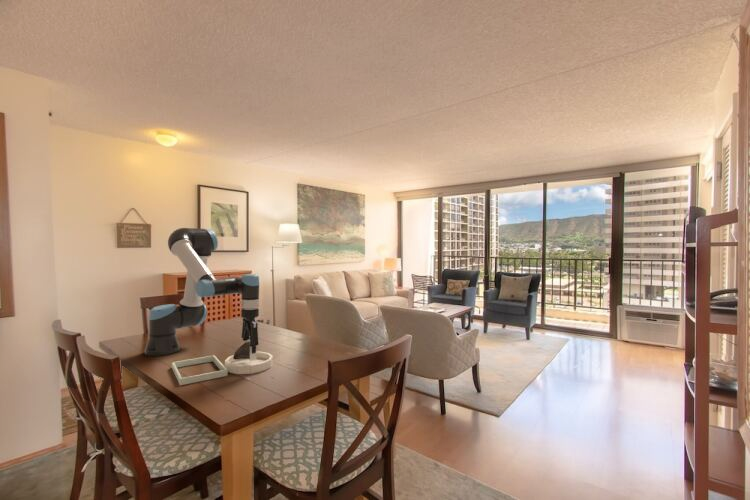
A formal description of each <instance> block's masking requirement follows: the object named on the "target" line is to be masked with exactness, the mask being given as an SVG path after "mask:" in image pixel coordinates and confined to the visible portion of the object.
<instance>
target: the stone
mask: <svg viewBox="0 0 750 500" xmlns="http://www.w3.org/2000/svg"><path fill="white" fill-rule="evenodd" d="M249 345H251V344H250V341H249V342H246V343H244V344H243V343H242V345H240V347H238V348H237V349H236V350H235V352H234V354H233V355H234V356H233V359H250V347H249Z"/></svg>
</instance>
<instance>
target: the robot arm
mask: <svg viewBox="0 0 750 500" xmlns="http://www.w3.org/2000/svg"><path fill="white" fill-rule="evenodd" d="M167 239H168V240H167V246H168V249H169V251H170V252H171V253H172V255H174V256H175V257H177V258H178V259H179V261H180V262H181V263H182V265H183V267H185V269H186V278H185V286H184V291H183V292H184V293H183V298H182V299H181V300H180V301H179V305H176V304H174V303H170V304H169V303H168V304H162V305H161V304H160V305H157V306H154V307H152V308H151V309H150V310H149V317H148V323H149V324H148V333H149V334H148V340H147V343H146V345H145V348H144V355H146V356H149V357H150V356H151V357H160V356H161V357H162V356H166V355H171V354H174V353H177V352H179V351H180V343H179V340H178V337H177V329H183V328H188V327H189V328H190V327H195V326H197V325H198V326H199V325H202V324H203V323H204V322H205V321H206V319H207V316H208V309H207V306H206V304H205V303H204V301H203V300H202V298H210V297H216V296H217V297H218V296H219V297H220V296H225V295H234V294H237V295H238V294H239V295H241V301H240V304H241V310H240V312H241V313H240V315H241V318H242V329H241V339H242V345H243V344H244V343H246V342H250V344H251V345H249V347H250V361H253V360H256V352H257V347H258V346H259V331H258V329H259V328H258V325H259V323H258V322H256V318H258V317H259V316H260V315H259V314H260V309H259V307H260V276H259V275H258V274H256V273H255V274H253V273H247V274H246V273H245V274H243V275H241V277H238V276H230V277H227V278H226V277H225V278H224V277H223V278H216V277H215V275H214V274H213V273H212V272H211V270H210V268H209V267H208V266H207V265H208V259H209V258H210V257H211V256H212V252H214V251H216V250H217V248H218V243H219V242H218V236H217V235H216V232H214V230H212V229H207V228H193V227H192V228H190V227H180V228H178V229H175V230H173V232H172V233H170V235H169V237H168V238H167Z"/></svg>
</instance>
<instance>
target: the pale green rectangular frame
mask: <svg viewBox="0 0 750 500" xmlns="http://www.w3.org/2000/svg"><path fill="white" fill-rule="evenodd" d="M210 362H213V363H214V365H215V366H216V367H217V368H218V369H219V370H215V371H211V372H205V373H202V374H196V375H195V374H194V375H191V376H189V375H188V376H184V377H182V375H181V373H180V371H179V369H178V368H183V367H187V366H188V367H189V366H193V365H199V364H205V363H210ZM171 369H172V372H173V373H174V376H175V378H176V380H177V382H178V384H179V386H183V385H189V384H194V383H198V382H199V383H200V382H203V381H208V380H213V379H217V378H223V377H228V373H229V372H228V370H227V369H226V367H225V364H223V362H221V361H220V360H219V358H217V356H216V355H214V354H213V355H208V356H203V357H202V356H201V357H196V358H190V359H184V360H183V359H182V360H179V361H173V362H171Z"/></svg>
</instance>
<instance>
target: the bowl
mask: <svg viewBox="0 0 750 500" xmlns="http://www.w3.org/2000/svg"><path fill="white" fill-rule="evenodd" d="M233 356H234V354H233V355H230V356H228V357H227V358H226V359H225V360H224V366H225V367H226V369H227V370H228V373H229V374H230V373H231V374H236V375H252V374H256V373H260V372H264V371H266V370H269V369H270V368H272V366H273V363H274V355H272V354H271V353H269V352H266V351H265V352H264V351H256V360H253V361H250V359H233Z"/></svg>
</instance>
